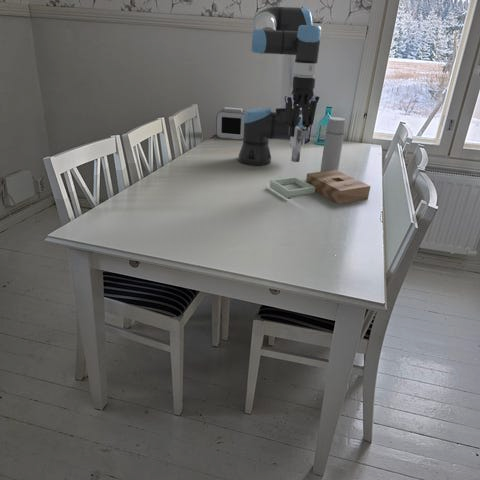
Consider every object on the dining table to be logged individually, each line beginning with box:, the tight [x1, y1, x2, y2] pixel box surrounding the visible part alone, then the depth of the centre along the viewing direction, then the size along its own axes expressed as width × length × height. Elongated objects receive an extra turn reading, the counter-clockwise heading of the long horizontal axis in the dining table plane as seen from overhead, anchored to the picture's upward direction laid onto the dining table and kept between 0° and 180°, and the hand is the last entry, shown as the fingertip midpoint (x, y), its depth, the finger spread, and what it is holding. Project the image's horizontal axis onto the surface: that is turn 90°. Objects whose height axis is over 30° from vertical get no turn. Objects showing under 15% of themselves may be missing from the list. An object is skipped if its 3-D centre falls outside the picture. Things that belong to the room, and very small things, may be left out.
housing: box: [305, 170, 371, 205], centre depth 158 cm, size 20×14×6 cm
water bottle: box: [319, 116, 347, 172], centre depth 170 cm, size 9×8×25 cm
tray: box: [269, 176, 316, 200], centre depth 160 cm, size 13×12×3 cm
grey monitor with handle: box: [215, 106, 248, 141], centre depth 231 cm, size 16×11×16 cm
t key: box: [289, 126, 310, 163], centre depth 152 cm, size 3×8×12 cm, turn 27°
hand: (296, 144), depth 152 cm, fingers closed on t key, 3 cm apart
